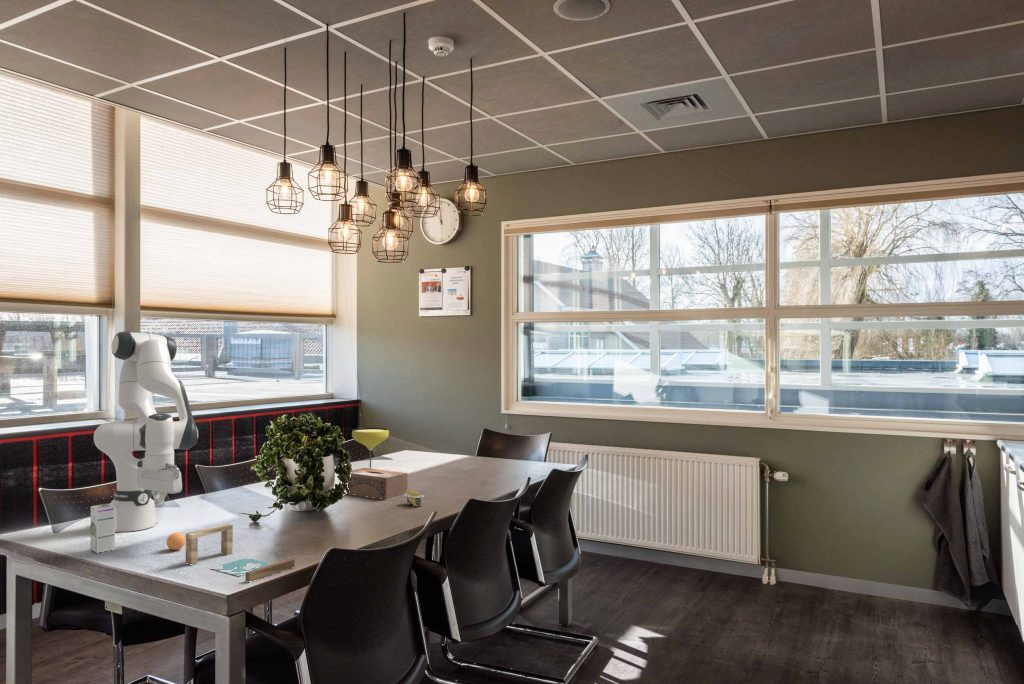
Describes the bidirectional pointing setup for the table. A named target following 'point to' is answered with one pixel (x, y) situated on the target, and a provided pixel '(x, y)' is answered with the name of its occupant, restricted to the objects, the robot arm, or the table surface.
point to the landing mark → (242, 563)
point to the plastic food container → (413, 497)
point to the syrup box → (102, 528)
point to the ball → (175, 541)
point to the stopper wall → (270, 569)
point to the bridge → (193, 537)
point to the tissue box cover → (377, 483)
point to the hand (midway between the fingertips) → (159, 504)
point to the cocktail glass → (370, 437)
